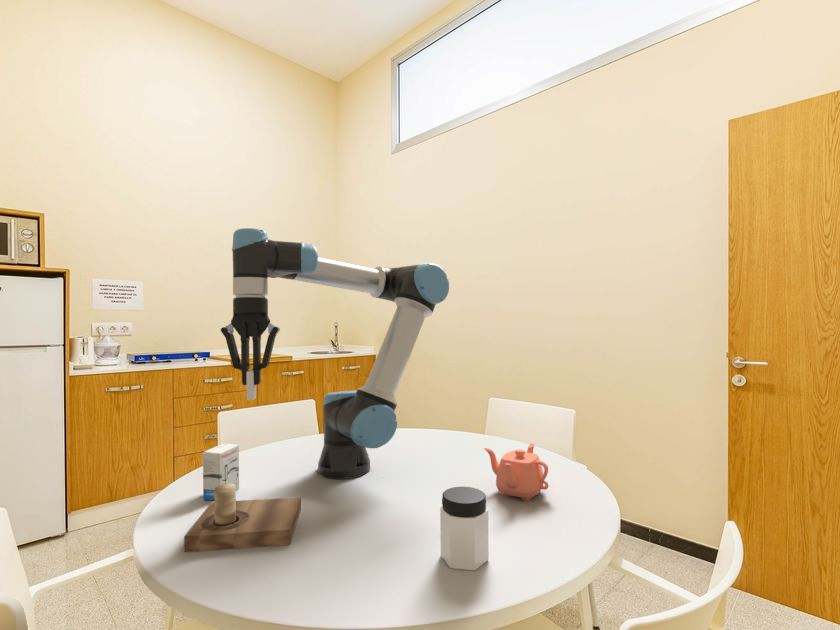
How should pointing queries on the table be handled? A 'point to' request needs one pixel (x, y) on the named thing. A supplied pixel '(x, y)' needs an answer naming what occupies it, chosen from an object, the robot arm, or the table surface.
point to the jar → (464, 528)
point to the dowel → (225, 504)
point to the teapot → (519, 473)
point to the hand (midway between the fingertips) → (251, 398)
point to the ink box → (220, 468)
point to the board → (246, 526)
